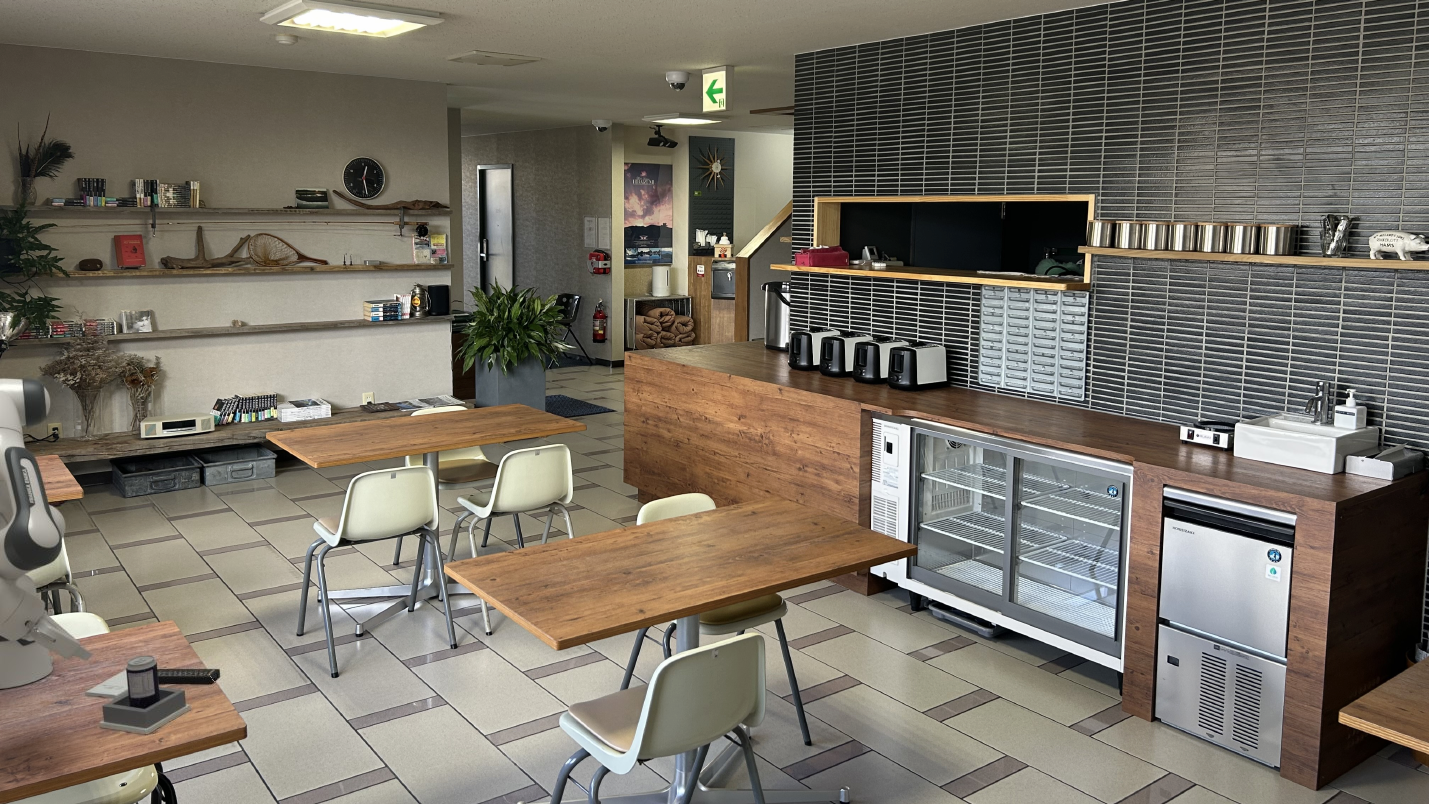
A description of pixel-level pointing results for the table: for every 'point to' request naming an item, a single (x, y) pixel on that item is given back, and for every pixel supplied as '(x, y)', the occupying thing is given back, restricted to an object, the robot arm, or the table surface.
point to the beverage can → (142, 682)
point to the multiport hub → (188, 676)
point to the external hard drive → (111, 687)
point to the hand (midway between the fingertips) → (81, 650)
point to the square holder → (144, 712)
